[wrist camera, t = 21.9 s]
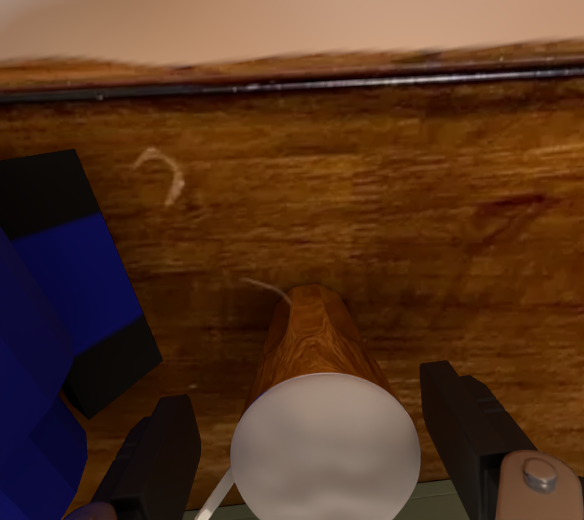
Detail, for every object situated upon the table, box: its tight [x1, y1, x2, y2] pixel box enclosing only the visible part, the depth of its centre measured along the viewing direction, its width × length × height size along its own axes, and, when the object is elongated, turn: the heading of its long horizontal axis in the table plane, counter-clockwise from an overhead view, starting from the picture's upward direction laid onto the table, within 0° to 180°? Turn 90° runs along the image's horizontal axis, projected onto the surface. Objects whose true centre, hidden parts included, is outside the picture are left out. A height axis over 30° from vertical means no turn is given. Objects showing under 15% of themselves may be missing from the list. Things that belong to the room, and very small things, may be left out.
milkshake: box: [194, 283, 421, 520], centre depth 12 cm, size 5×5×10 cm
